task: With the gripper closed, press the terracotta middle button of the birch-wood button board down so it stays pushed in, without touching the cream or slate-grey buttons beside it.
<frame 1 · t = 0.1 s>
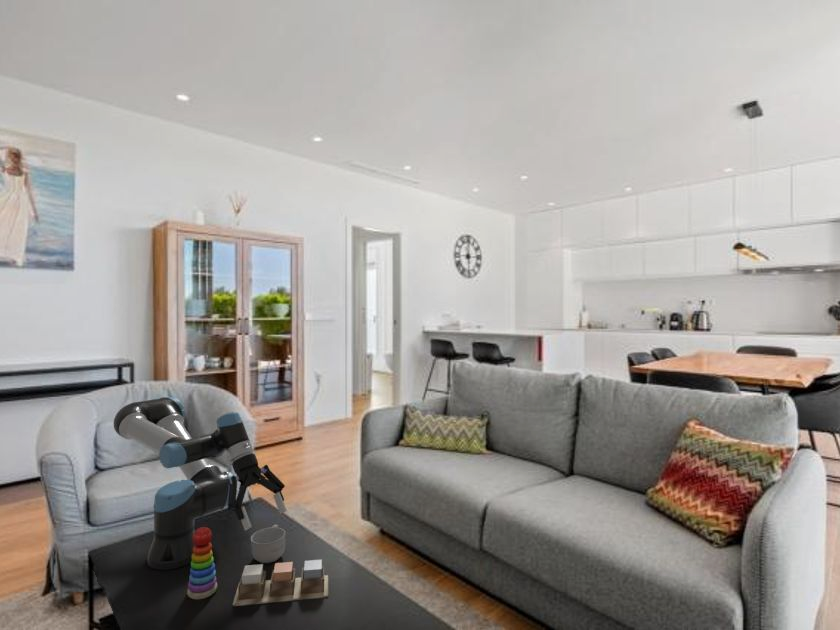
hand: (266, 520, 148), 15 cm above the table, tool tilted 35°, fingers open, 13 cm apart
teacup: (270, 556, 157), on the table
button cream: (252, 576, 136), point 5 cm above the table, slide at 0.0 cm
button terracotta: (283, 573, 138), point 5 cm above the table, slide at 0.0 cm
stacking toy: (202, 592, 137), on the table
button board: (282, 590, 138), on the table
button slate: (312, 571, 140), point 5 cm above the table, slide at 0.0 cm
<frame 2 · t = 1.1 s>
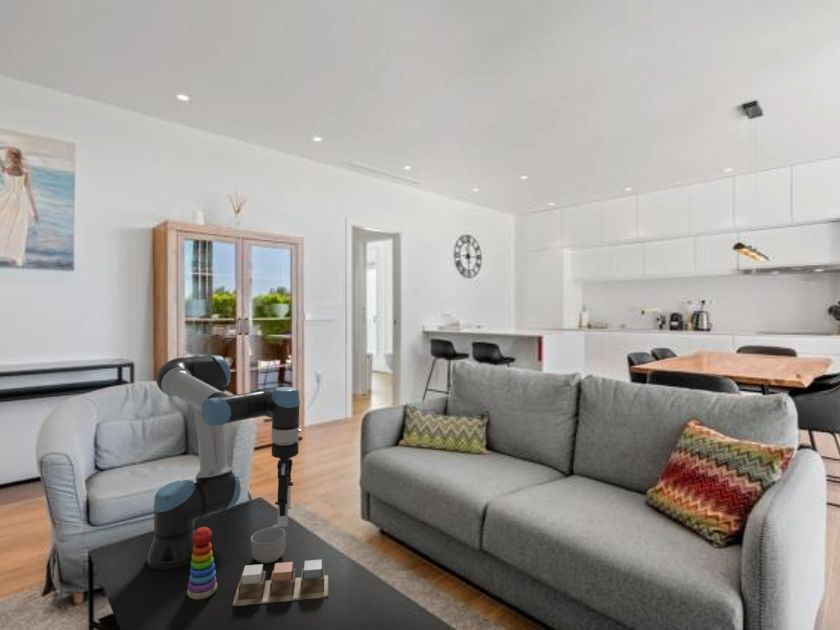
hand: (284, 517, 137), 22 cm above the table, tool pointing down, fingers open, 10 cm apart
nothing on the table moved.
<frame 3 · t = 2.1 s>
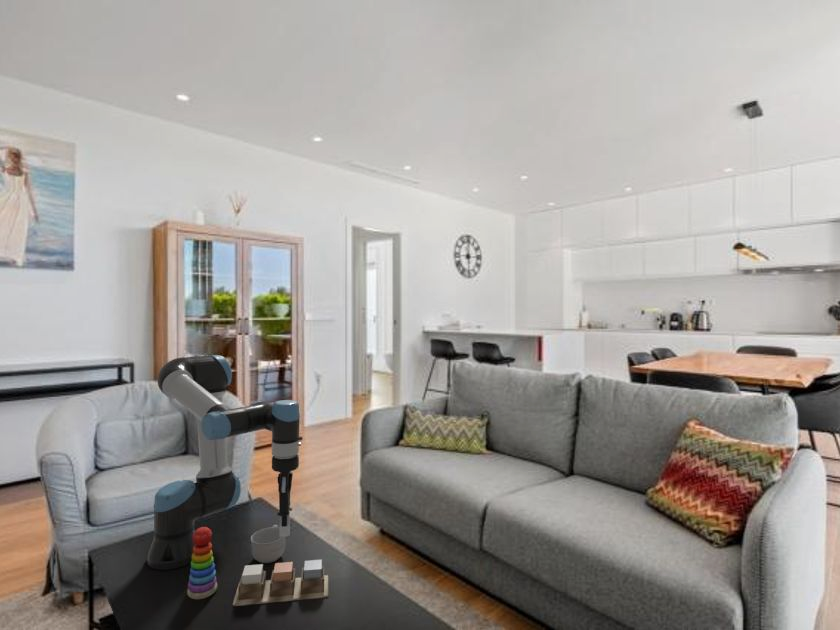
hand: (284, 535, 137), 17 cm above the table, tool pointing down, fingers closed
nothing on the table moved.
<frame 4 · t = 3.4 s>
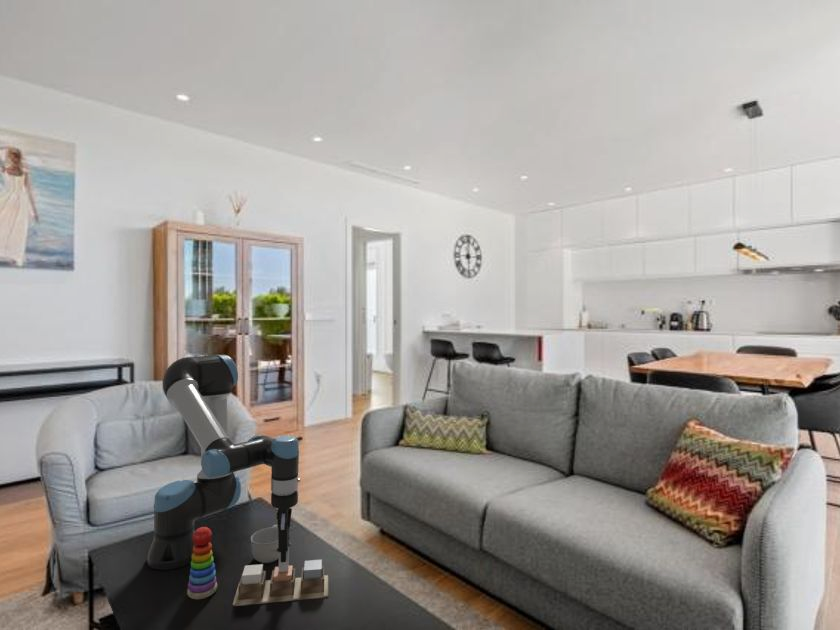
hand: (283, 570, 138), 6 cm above the table, tool pointing down, fingers closed
button terracotta: (283, 577, 138), point 4 cm above the table, slide at 1.1 cm, touching gripper
everything else where it was.
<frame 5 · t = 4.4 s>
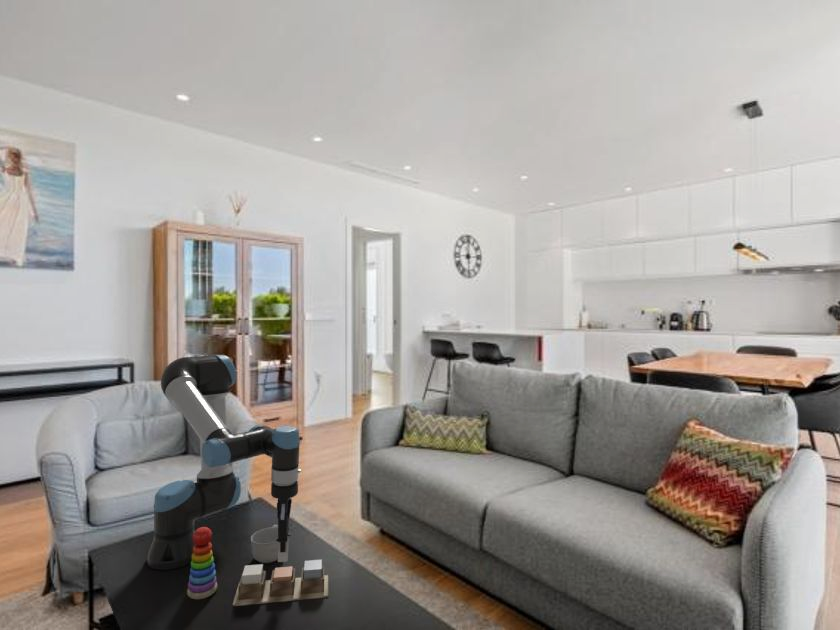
hand: (282, 560, 138), 9 cm above the table, tool pointing down, fingers closed
button terracotta: (283, 578, 138), point 4 cm above the table, slide at 1.4 cm
everything else where it was.
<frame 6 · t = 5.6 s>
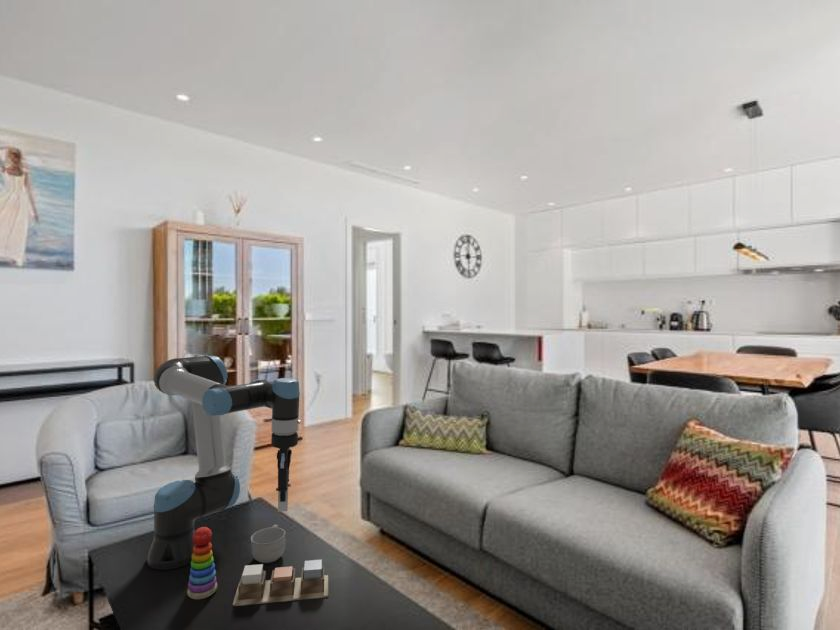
hand: (282, 510, 140), 23 cm above the table, tool pointing down, fingers closed
nothing on the table moved.
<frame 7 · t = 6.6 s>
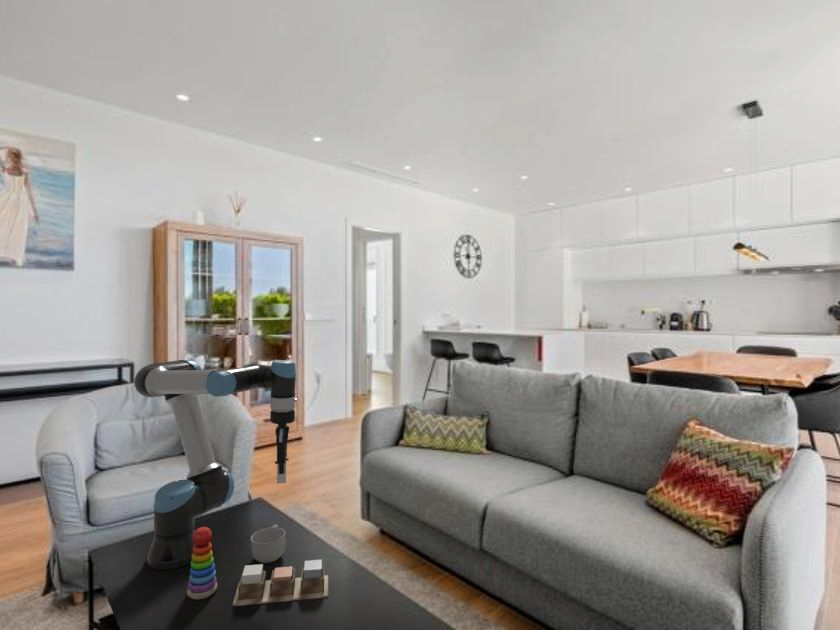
hand: (281, 482, 151), 26 cm above the table, tool pointing down, fingers closed
nothing on the table moved.
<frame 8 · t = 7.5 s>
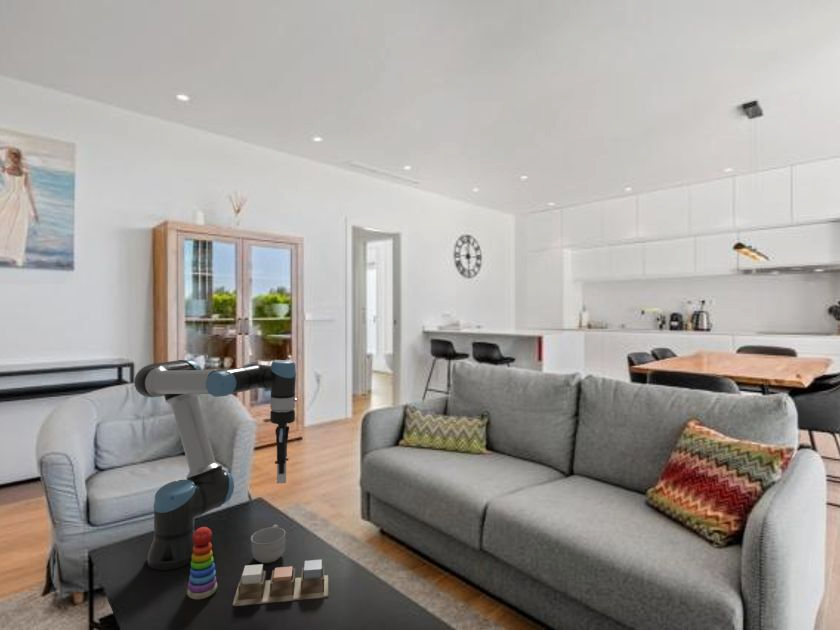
hand: (281, 482, 151), 26 cm above the table, tool pointing down, fingers closed
nothing on the table moved.
at the end: button terracotta slide at 1.4 cm; button cream slide at 0.0 cm; button slate slide at 0.0 cm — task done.
